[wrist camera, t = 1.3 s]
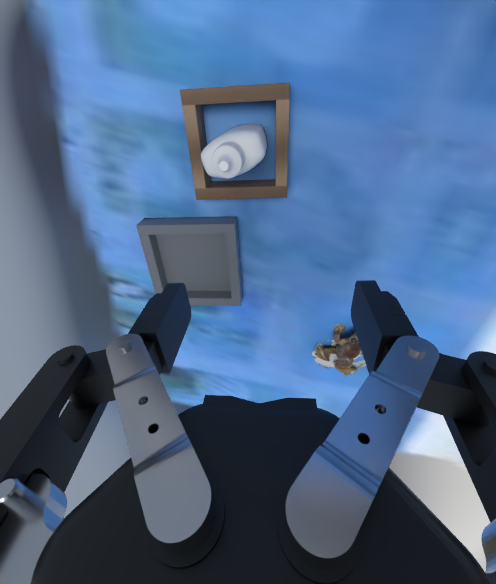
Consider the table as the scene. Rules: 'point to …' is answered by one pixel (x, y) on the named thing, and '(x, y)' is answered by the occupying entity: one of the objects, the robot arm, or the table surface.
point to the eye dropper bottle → (235, 151)
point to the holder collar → (197, 143)
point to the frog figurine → (340, 353)
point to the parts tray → (195, 257)
